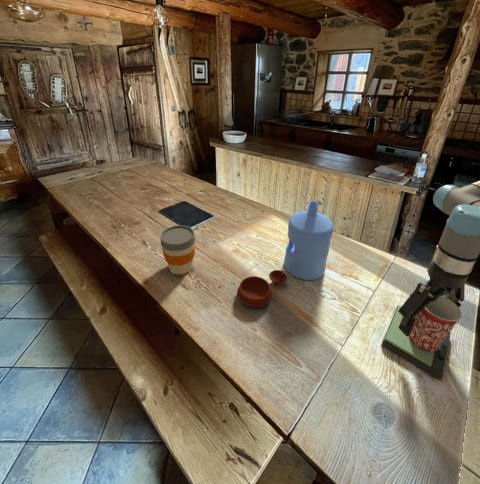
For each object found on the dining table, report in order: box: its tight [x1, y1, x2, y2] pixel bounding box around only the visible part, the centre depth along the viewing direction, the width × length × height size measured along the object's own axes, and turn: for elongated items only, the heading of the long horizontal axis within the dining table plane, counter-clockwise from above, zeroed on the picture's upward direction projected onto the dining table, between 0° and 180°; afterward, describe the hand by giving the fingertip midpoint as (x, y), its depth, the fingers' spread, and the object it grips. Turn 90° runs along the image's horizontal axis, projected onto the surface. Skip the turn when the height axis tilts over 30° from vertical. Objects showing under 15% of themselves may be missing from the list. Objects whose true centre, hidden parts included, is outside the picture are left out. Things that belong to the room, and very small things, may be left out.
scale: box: [380, 305, 451, 381], centre depth 76 cm, size 14×16×3 cm
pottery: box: [236, 269, 288, 308], centre depth 91 cm, size 12×20×4 cm, turn 127°
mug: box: [409, 294, 463, 352], centre depth 73 cm, size 13×9×14 cm
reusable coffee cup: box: [160, 224, 196, 275], centre depth 100 cm, size 13×13×15 cm
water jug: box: [283, 201, 334, 281], centre depth 98 cm, size 16×16×28 cm
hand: (422, 325), depth 74 cm, fingers open, 13 cm apart
